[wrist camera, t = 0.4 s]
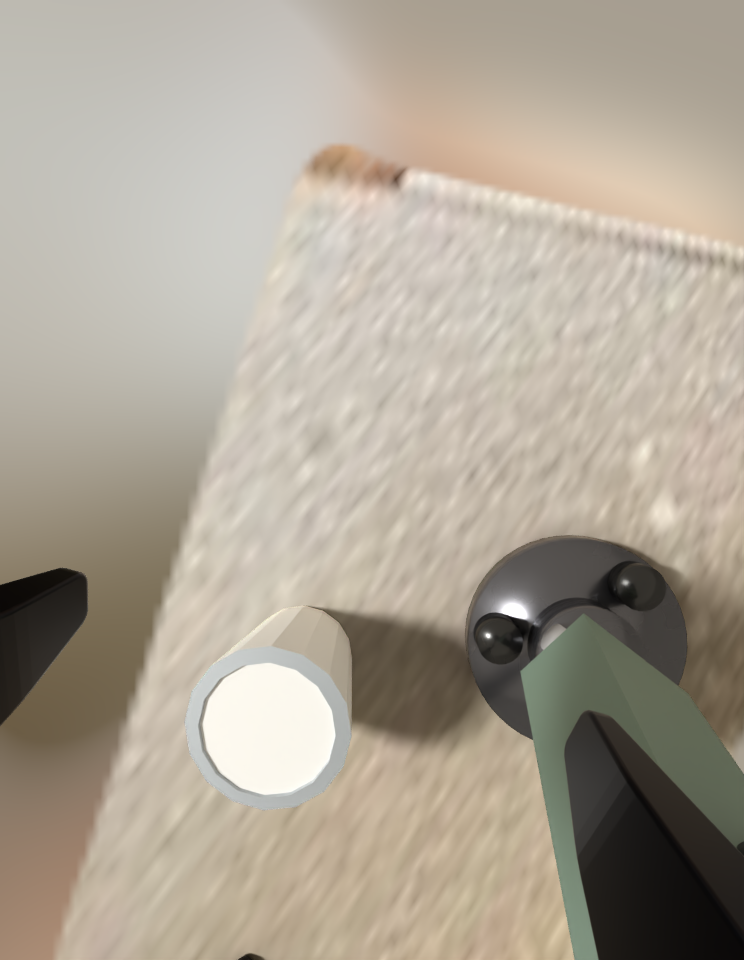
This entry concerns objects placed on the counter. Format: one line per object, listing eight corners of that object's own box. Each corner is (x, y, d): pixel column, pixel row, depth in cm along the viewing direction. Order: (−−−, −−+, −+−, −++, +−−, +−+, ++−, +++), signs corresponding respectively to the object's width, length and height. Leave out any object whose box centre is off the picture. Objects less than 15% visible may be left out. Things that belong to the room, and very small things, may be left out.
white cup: (360, 719, 25) (346, 820, 18) (239, 709, 25) (180, 805, 18) (366, 598, 25) (355, 653, 18) (243, 590, 25) (185, 641, 18)
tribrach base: (583, 775, 25) (609, 818, 22) (424, 651, 25) (428, 678, 22) (715, 620, 24) (762, 643, 21) (551, 493, 24) (573, 498, 21)
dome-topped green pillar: (608, 724, 22) (876, 1378, 8) (516, 652, 22) (615, 1173, 8) (708, 644, 20) (1304, 1312, 6) (608, 567, 20) (956, 1042, 6)
